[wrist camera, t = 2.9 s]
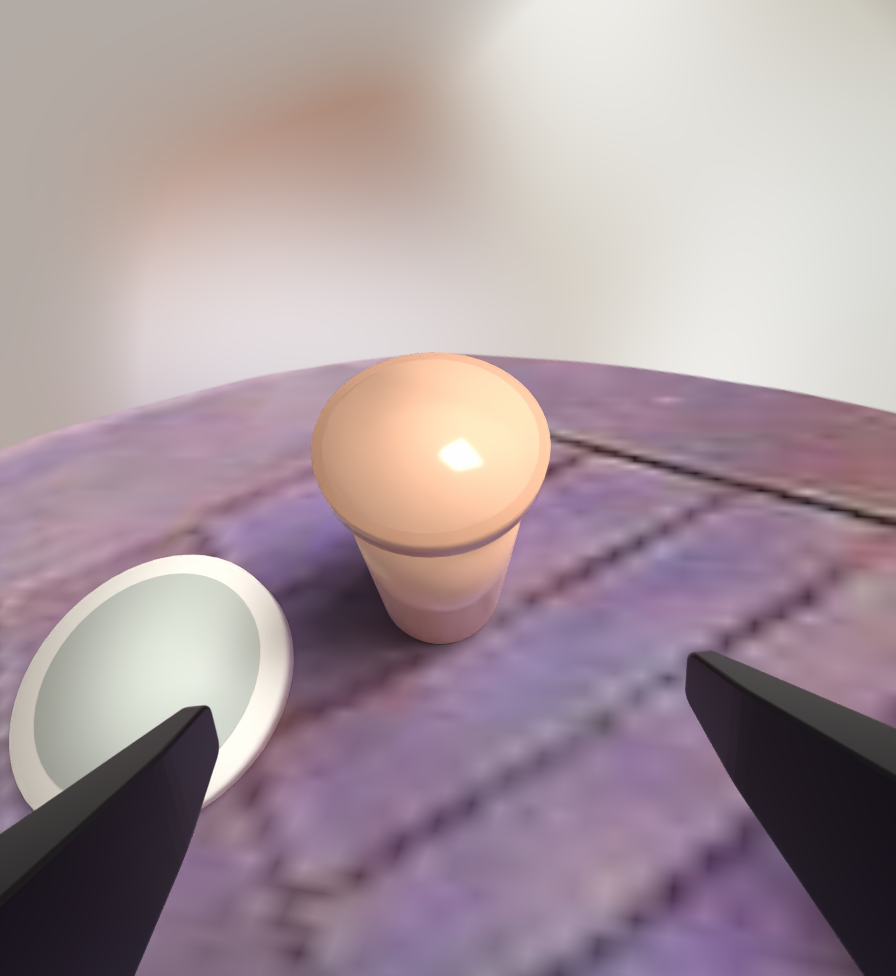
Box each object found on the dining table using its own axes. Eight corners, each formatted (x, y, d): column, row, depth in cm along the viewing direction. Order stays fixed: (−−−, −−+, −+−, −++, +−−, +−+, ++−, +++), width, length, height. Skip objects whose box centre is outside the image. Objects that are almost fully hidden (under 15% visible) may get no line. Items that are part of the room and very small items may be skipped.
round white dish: (134, 907, 17) (104, 921, 15) (-10, 707, 20) (-45, 703, 19) (343, 655, 21) (335, 647, 20) (196, 527, 25) (180, 513, 23)
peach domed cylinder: (454, 681, 20) (455, 598, 10) (348, 595, 23) (259, 456, 12) (531, 569, 23) (593, 416, 13) (430, 502, 25) (413, 324, 15)
